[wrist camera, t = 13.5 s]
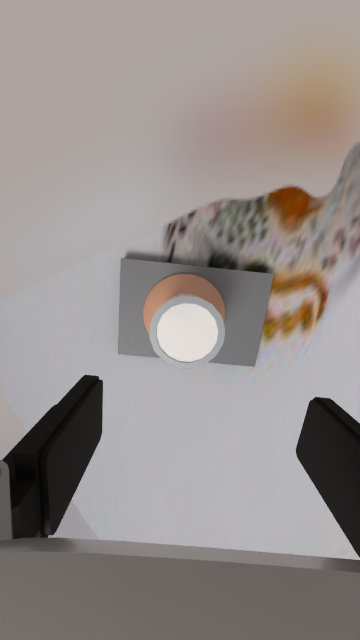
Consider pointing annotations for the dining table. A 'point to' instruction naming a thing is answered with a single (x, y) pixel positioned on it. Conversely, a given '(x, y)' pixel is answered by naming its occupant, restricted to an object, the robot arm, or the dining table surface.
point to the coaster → (181, 286)
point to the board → (233, 285)
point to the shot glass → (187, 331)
